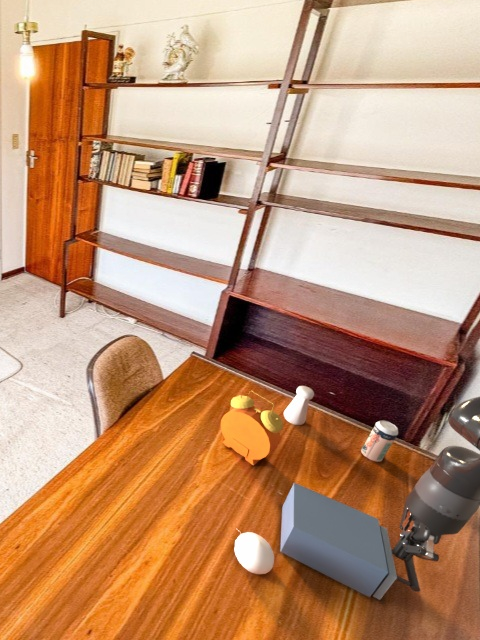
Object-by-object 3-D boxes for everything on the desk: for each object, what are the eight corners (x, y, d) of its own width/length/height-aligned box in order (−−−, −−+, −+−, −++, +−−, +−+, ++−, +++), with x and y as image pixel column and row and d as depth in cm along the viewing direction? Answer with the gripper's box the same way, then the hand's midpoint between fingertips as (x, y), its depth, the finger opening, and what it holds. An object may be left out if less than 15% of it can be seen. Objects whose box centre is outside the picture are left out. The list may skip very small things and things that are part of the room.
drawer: (399, 563, 85) (416, 541, 82) (410, 616, 76) (430, 593, 73) (295, 514, 94) (306, 493, 91) (295, 557, 85) (307, 534, 82)
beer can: (360, 447, 114) (378, 416, 109) (381, 457, 111) (400, 426, 106) (358, 456, 111) (376, 425, 106) (379, 467, 108) (398, 435, 103)
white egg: (276, 579, 82) (288, 558, 79) (244, 584, 81) (254, 563, 78) (246, 531, 91) (255, 511, 88) (216, 535, 90) (224, 514, 87)
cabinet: (360, 546, 89) (378, 519, 85) (367, 600, 79) (388, 572, 75) (281, 509, 96) (294, 482, 92) (278, 554, 87) (293, 526, 82)
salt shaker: (286, 427, 121) (300, 394, 115) (278, 413, 126) (291, 381, 120) (306, 430, 120) (322, 397, 114) (298, 416, 125) (312, 384, 119)
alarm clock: (270, 463, 108) (295, 408, 100) (259, 473, 105) (283, 417, 97) (225, 431, 118) (244, 378, 110) (213, 440, 115) (231, 386, 106)
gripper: (485, 541, 65) (433, 600, 72) (460, 482, 75) (417, 538, 82) (424, 516, 68) (381, 574, 76) (408, 463, 78) (371, 519, 86)
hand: (400, 555), depth 79 cm, fingers closed
